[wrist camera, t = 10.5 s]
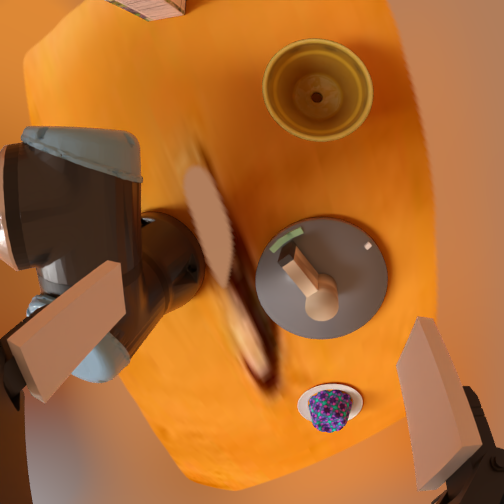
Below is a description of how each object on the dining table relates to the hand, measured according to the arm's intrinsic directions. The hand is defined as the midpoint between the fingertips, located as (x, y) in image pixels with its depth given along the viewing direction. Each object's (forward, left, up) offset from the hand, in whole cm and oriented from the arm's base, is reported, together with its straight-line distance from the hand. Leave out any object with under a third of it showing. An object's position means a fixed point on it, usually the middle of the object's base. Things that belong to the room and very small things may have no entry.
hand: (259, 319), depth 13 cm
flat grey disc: (-7, -11, -29) cm, 32 cm away
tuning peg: (-7, -8, -27) cm, 29 cm away
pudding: (-23, -31, -29) cm, 49 cm away
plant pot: (+10, +6, -29) cm, 31 cm away
